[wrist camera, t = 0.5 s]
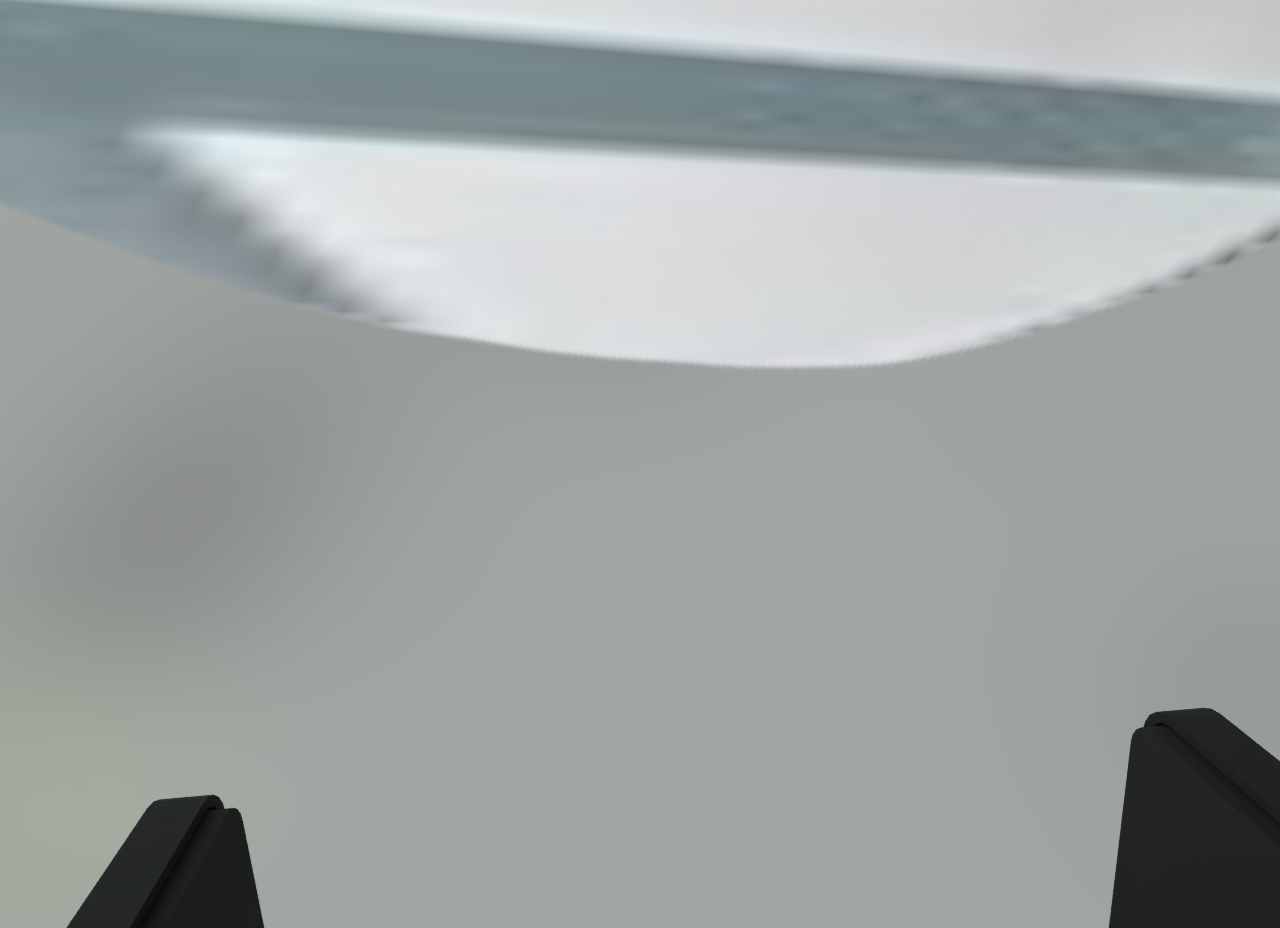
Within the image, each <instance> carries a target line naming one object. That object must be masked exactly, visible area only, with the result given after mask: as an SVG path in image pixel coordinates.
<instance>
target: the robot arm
mask: <svg viewBox="0 0 1280 928" xmlns="http://www.w3.org/2000/svg"><path fill="white" fill-rule="evenodd" d="M67 928H264V924H263V919H262V914H261V909H260V904H259V899H258V894H257V890H256V885H255V879H254V874H253V869H252V865H251V859H250V854H249V850H248V844H247V840H246V834H245V829H244V825H243V820H242V817H241V814H240V812H239V811H238V809H235V808H229V809H224V806H223V803H222V801H221V800H220V798H219V797H217V796H215V795H206V796H195V797H183V798H172V799H161V800H157V801H154V802H153V803H152V804H151V805H150V806H149V807H148V808H147V809H146V811H145V813H144V814H143V815H142V817H141V818H140V820H139V821H138V823H137V824H136V826H135V827H134V829H133V830H132V832H131V833H130V835H129V837H128V838H127V839H126V841H125V842H124V844H123V845H122V846H121V848H120V849H119V851H118V852H117V854H116V855H115V857H114V858H113V860H112V861H111V863H110V864H109V866H108V867H107V869H106V870H105V872H104V873H103V875H102V876H101V878H100V879H99V881H98V882H97V883H96V885H95V886H94V888H93V890H92V891H91V893H90V894H89V895H88V897H87V898H86V900H85V901H84V903H83V904H82V906H81V907H80V909H79V910H78V912H77V913H76V915H75V916H74V918H73V919H72V920H71V922H70V923H69V925H68V927H67ZM1109 928H1280V761H1279V760H1278V759H1276V758H1275V757H1274V756H1273V755H1271V754H1270V753H1269V752H1267V751H1266V750H1265V749H1264V748H1262V747H1261V746H1260V745H1259V744H1257V743H1256V742H1255V741H1254V740H1252V739H1251V738H1250V737H1249V736H1247V735H1246V734H1245V733H1244V732H1242V731H1241V730H1240V729H1239V728H1237V727H1236V726H1235V725H1234V724H1232V723H1231V722H1230V721H1229V720H1227V719H1226V718H1225V717H1223V716H1222V715H1221V714H1220V713H1218V712H1216V711H1214V710H1213V709H1209V708H1197V709H1185V710H1174V711H1162V712H1155V713H1153V714H1151V715H1149V717H1148V718H1147V720H1146V721H1145V724H1144V727H1142V728H1139V729H1137V730H1136V731H1135V732H1134V733H1133V736H1132V740H1131V746H1130V754H1129V763H1128V771H1127V780H1126V788H1125V796H1124V805H1123V813H1122V822H1121V830H1120V839H1119V847H1118V856H1117V864H1116V872H1115V881H1114V889H1113V898H1112V906H1111V915H1110V923H1109Z"/></svg>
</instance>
